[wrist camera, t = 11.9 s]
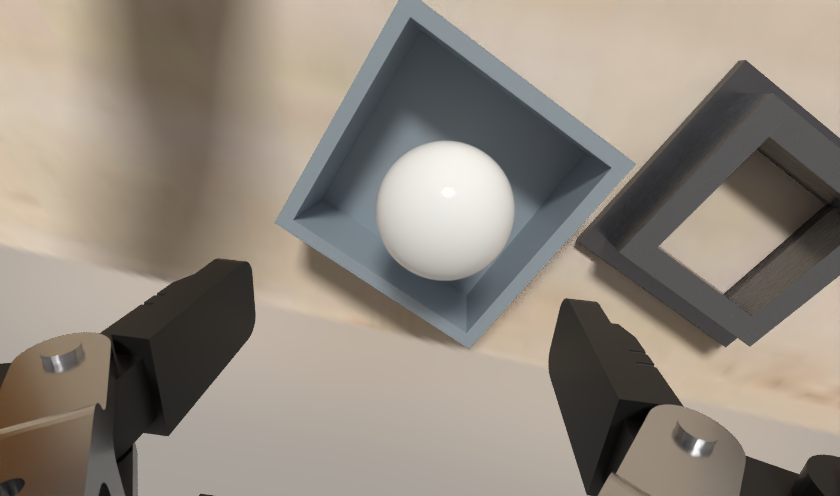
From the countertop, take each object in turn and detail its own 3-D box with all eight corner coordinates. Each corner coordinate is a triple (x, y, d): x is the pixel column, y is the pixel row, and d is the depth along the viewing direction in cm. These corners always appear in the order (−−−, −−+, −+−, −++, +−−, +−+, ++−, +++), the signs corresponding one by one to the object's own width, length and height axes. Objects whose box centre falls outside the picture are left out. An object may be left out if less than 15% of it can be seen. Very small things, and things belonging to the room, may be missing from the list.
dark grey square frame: (576, 239, 27) (588, 256, 25) (738, 60, 23) (776, 56, 20) (720, 342, 29) (747, 369, 26) (900, 194, 24) (956, 208, 22)
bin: (309, 199, 28) (274, 222, 23) (418, 10, 24) (405, -12, 18) (468, 304, 30) (469, 349, 25) (601, 148, 25) (636, 163, 20)
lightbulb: (409, 229, 28) (373, 310, 18) (395, 132, 26) (346, 161, 15) (505, 220, 27) (526, 302, 17) (499, 119, 25) (519, 141, 14)
